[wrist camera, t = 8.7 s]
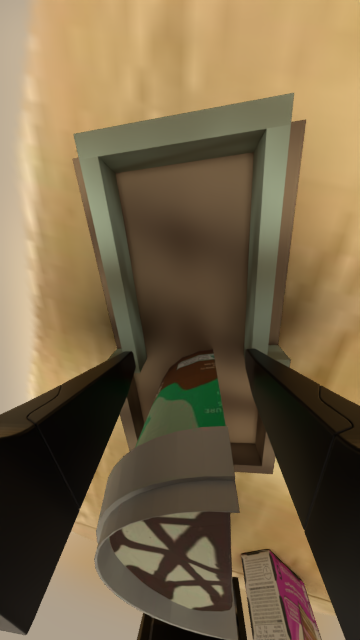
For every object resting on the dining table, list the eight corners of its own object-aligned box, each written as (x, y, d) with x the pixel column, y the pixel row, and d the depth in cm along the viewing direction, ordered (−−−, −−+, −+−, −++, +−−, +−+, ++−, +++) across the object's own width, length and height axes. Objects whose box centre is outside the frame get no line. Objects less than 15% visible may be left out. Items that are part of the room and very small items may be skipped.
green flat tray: (263, 445, 18) (272, 474, 16) (141, 440, 20) (133, 465, 18) (300, 126, 10) (333, 85, 7) (77, 162, 11) (45, 139, 9)
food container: (136, 336, 15) (26, 485, 5) (212, 332, 14) (239, 499, 4) (159, 441, 19) (120, 625, 10) (218, 442, 18) (238, 645, 9)
